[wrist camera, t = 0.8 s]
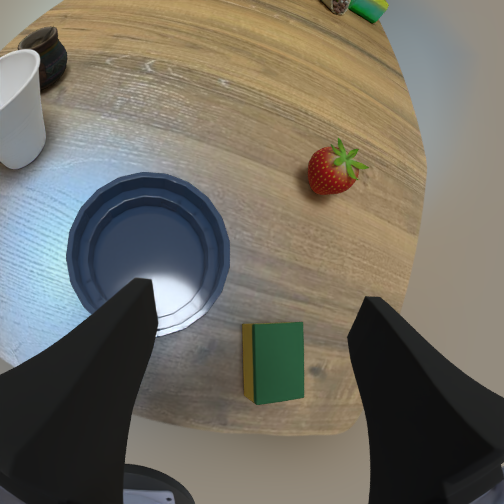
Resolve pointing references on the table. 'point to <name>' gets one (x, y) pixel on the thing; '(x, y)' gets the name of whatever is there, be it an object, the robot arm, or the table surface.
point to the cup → (20, 109)
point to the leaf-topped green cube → (369, 8)
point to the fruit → (333, 170)
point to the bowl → (150, 247)
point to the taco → (337, 5)
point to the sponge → (273, 362)
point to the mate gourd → (47, 54)
